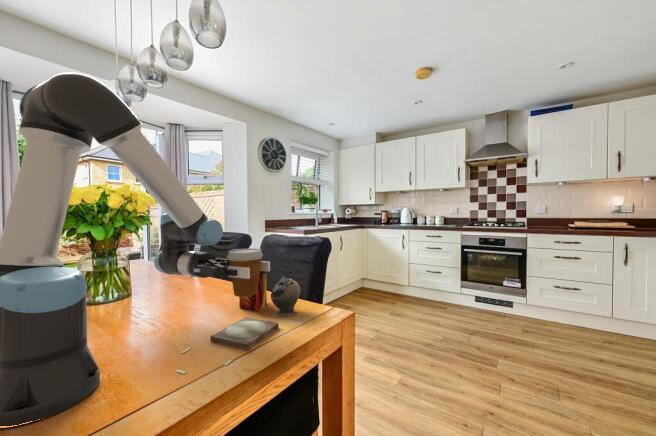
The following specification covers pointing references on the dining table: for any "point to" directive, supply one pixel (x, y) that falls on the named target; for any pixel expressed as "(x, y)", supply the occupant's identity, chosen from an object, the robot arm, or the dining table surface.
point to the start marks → (189, 349)
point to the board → (244, 333)
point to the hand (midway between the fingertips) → (259, 269)
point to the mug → (256, 296)
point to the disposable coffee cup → (249, 260)
